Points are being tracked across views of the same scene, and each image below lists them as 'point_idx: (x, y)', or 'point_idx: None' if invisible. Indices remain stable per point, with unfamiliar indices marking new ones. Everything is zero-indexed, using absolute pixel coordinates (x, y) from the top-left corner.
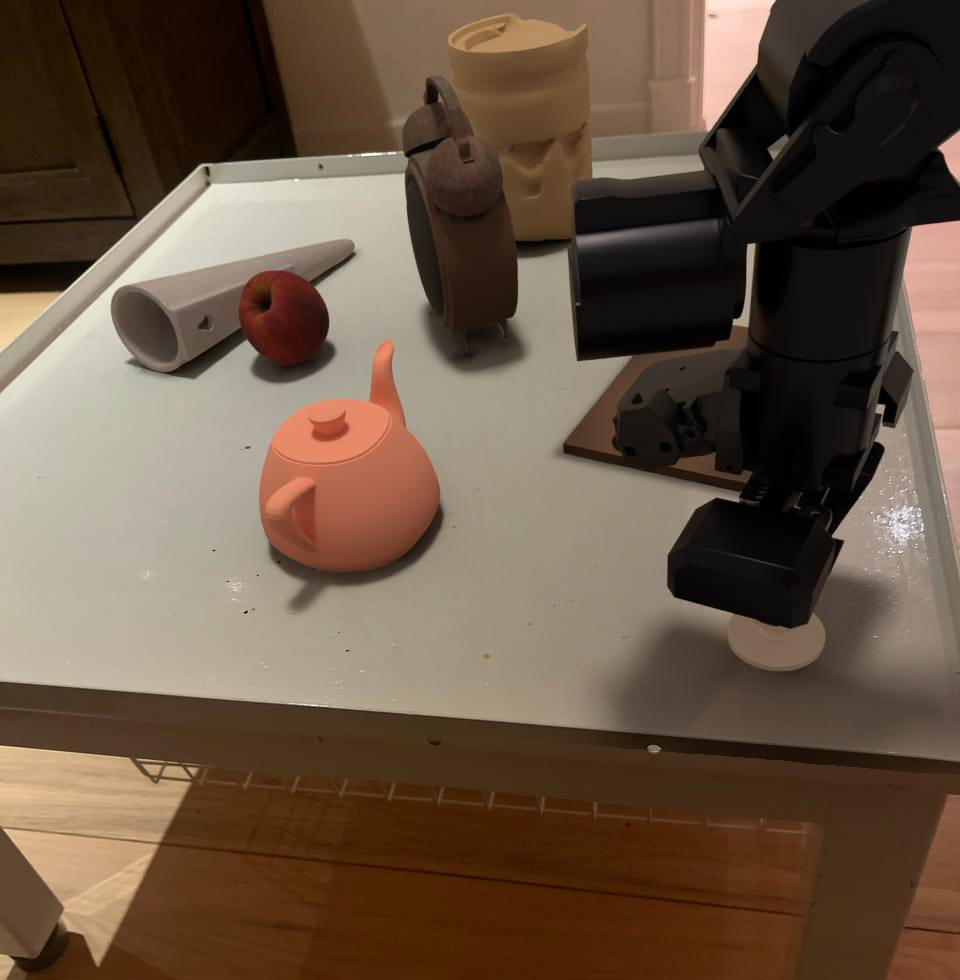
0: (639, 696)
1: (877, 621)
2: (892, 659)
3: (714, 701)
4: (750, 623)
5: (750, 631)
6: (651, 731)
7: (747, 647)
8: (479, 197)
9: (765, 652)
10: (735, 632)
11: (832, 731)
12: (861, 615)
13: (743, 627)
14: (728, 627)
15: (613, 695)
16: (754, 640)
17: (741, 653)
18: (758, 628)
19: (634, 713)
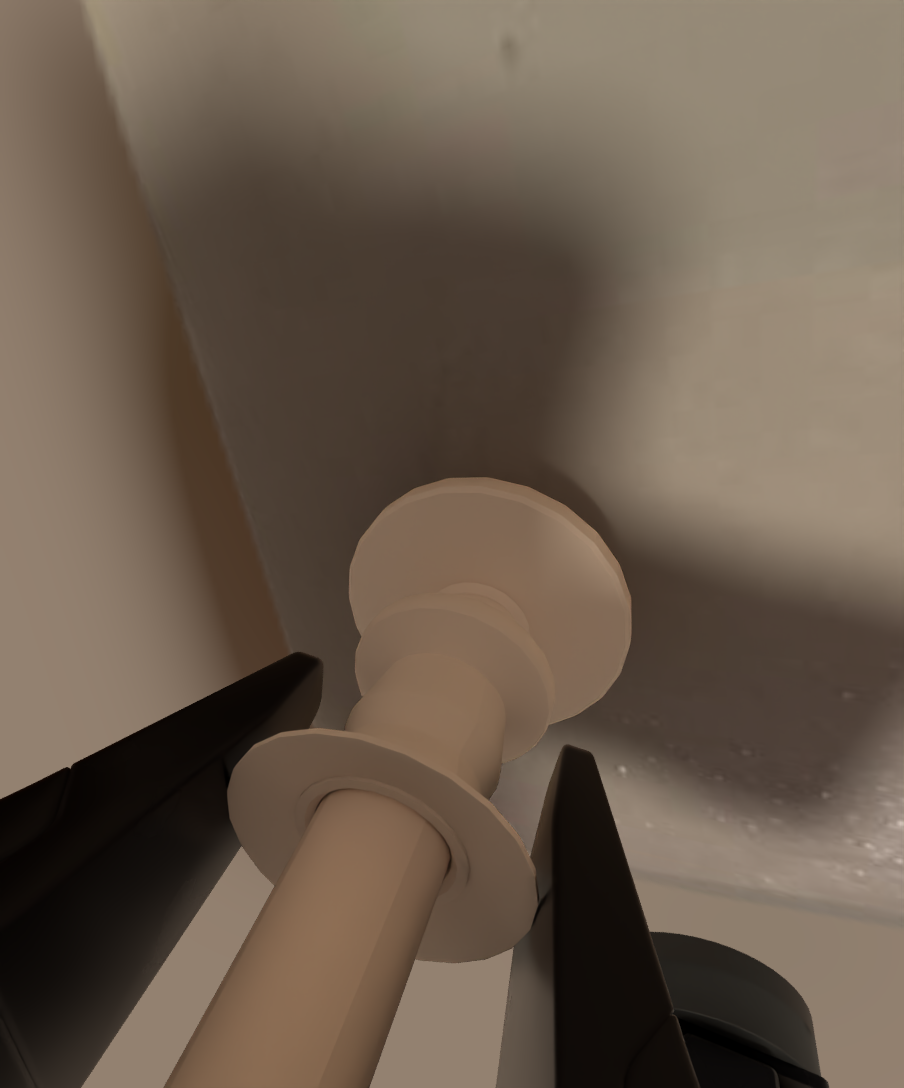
0: (266, 201)
1: (678, 783)
2: None
3: (322, 425)
4: (492, 557)
5: (457, 556)
6: (171, 270)
7: (389, 547)
8: None
9: (384, 592)
10: (443, 513)
11: (327, 659)
12: (699, 759)
13: (472, 536)
14: (465, 490)
15: (238, 103)
16: (423, 566)
17: (369, 529)
18: (471, 579)
19: (204, 201)
